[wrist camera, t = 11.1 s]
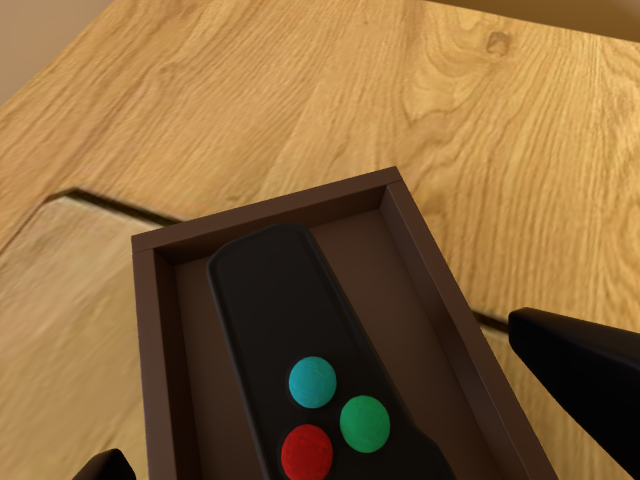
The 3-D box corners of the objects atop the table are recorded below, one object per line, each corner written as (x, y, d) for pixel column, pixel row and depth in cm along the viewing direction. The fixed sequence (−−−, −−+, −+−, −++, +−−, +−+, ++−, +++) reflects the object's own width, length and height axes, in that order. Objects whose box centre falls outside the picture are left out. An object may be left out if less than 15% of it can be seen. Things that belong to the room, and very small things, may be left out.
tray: (591, 626, 12) (672, 695, 9) (221, 812, 10) (184, 968, 8) (385, 196, 20) (396, 164, 18) (159, 259, 19) (130, 235, 16)
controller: (344, 608, 12) (415, 1280, 3) (237, 306, 17) (140, 205, 8) (442, 544, 13) (742, 920, 4) (313, 273, 17) (306, 145, 8)
